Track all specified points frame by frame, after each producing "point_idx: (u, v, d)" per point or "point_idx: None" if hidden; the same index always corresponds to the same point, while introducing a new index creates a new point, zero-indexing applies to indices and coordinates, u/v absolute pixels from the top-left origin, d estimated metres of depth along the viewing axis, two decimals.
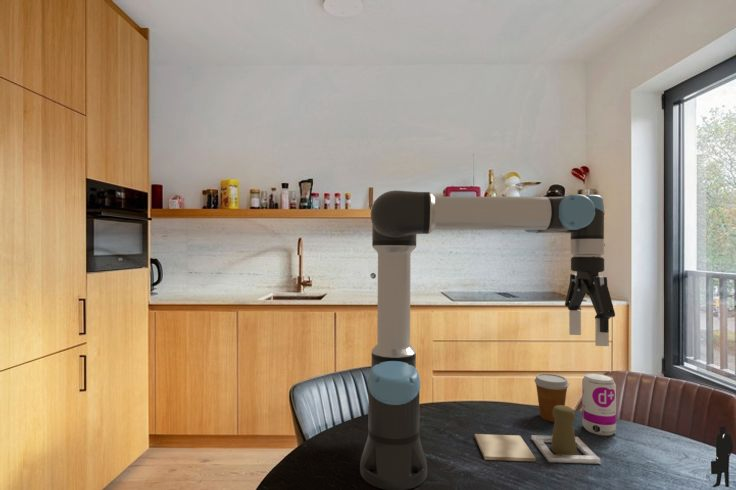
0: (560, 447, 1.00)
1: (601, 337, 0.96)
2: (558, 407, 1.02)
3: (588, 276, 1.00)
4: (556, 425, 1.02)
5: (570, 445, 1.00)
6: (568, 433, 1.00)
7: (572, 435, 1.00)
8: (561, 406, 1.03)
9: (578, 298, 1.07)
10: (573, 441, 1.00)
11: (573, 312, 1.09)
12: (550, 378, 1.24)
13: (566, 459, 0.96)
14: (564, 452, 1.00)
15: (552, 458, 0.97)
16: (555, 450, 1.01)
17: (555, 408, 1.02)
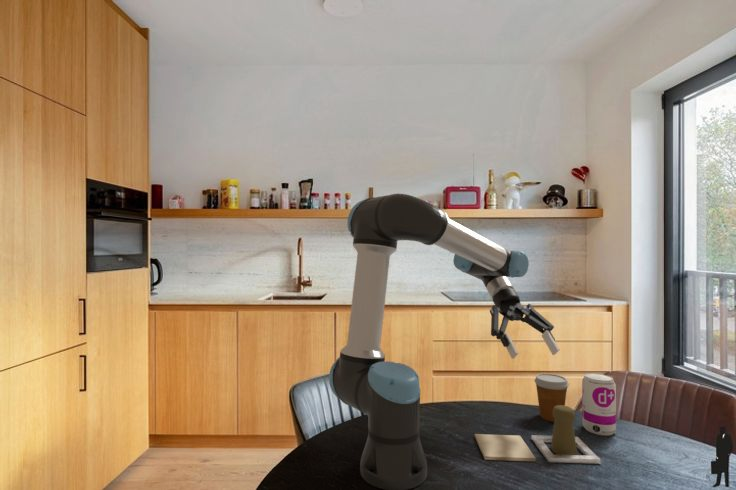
0: (560, 447, 1.00)
1: None
2: (558, 407, 1.02)
3: (519, 304, 1.24)
4: (556, 425, 1.02)
5: (570, 445, 1.00)
6: (568, 433, 1.00)
7: (572, 435, 1.00)
8: (561, 406, 1.03)
9: None
10: (573, 441, 1.00)
11: None
12: (550, 378, 1.24)
13: (566, 459, 0.96)
14: (564, 452, 1.00)
15: (552, 458, 0.97)
16: (555, 450, 1.01)
17: (555, 408, 1.02)
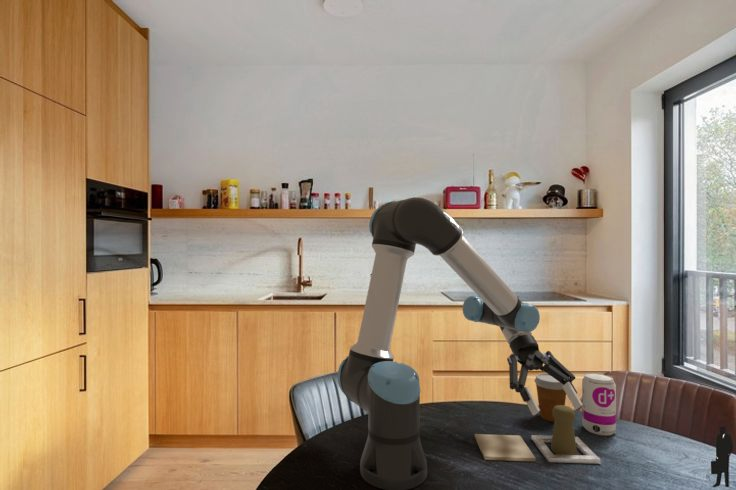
0: (560, 447, 1.00)
1: None
2: (558, 407, 1.02)
3: (538, 352, 1.17)
4: (556, 425, 1.02)
5: (570, 445, 1.00)
6: (568, 433, 1.00)
7: (572, 435, 1.00)
8: (561, 406, 1.03)
9: None
10: (573, 441, 1.00)
11: None
12: (550, 378, 1.24)
13: (566, 459, 0.96)
14: (564, 452, 1.00)
15: (552, 458, 0.97)
16: (555, 450, 1.01)
17: (555, 408, 1.02)
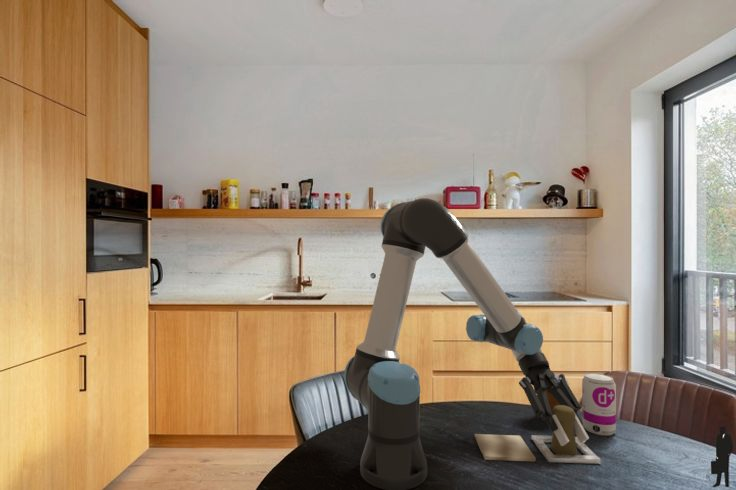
0: (560, 447, 1.00)
1: None
2: (558, 407, 1.02)
3: (550, 370, 1.11)
4: None
5: (570, 445, 1.00)
6: (568, 433, 1.00)
7: (572, 435, 1.00)
8: (561, 406, 1.03)
9: None
10: (573, 441, 1.00)
11: None
12: None
13: (566, 459, 0.96)
14: (564, 452, 1.00)
15: (552, 458, 0.97)
16: (555, 450, 1.01)
17: (555, 408, 1.02)
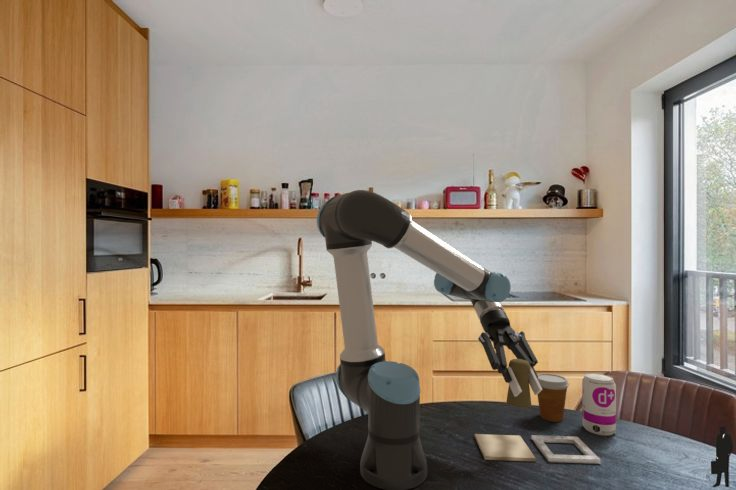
0: (514, 398, 1.01)
1: None
2: (514, 360, 1.03)
3: (510, 328, 1.13)
4: None
5: (524, 396, 1.01)
6: (523, 385, 1.01)
7: (526, 387, 1.01)
8: (517, 359, 1.04)
9: None
10: (527, 393, 1.01)
11: None
12: (550, 378, 1.24)
13: (566, 459, 0.96)
14: (518, 403, 1.01)
15: (552, 458, 0.97)
16: (509, 402, 1.02)
17: (511, 361, 1.04)
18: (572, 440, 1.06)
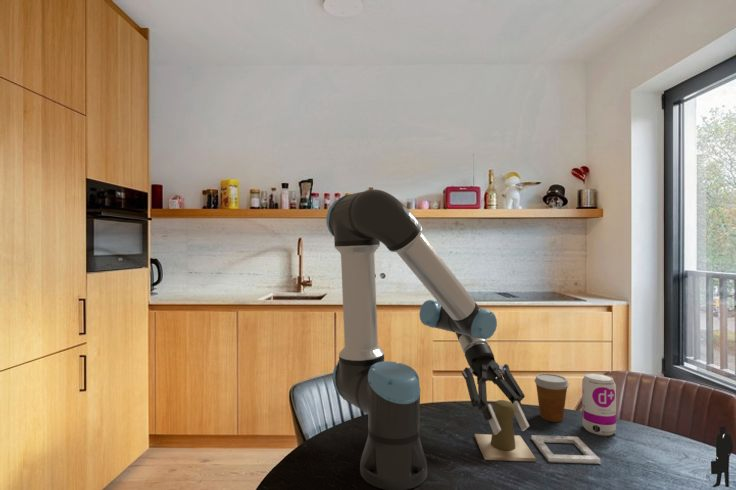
0: (498, 441, 1.01)
1: None
2: (498, 402, 1.03)
3: (494, 362, 1.12)
4: None
5: (508, 439, 1.01)
6: (507, 428, 1.01)
7: (510, 430, 1.01)
8: (502, 401, 1.04)
9: None
10: (511, 435, 1.01)
11: None
12: (550, 378, 1.24)
13: (566, 459, 0.96)
14: (502, 446, 1.01)
15: (552, 458, 0.97)
16: (494, 444, 1.02)
17: (495, 403, 1.03)
18: (572, 440, 1.06)
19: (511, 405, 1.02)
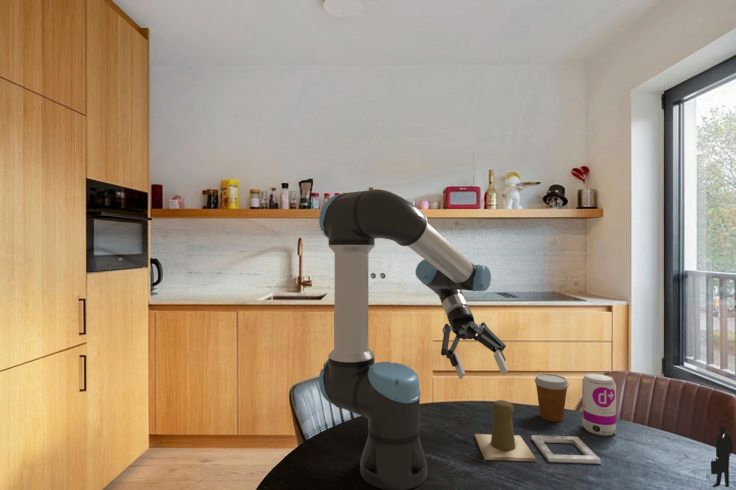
0: (498, 441, 1.01)
1: None
2: (497, 402, 1.03)
3: (473, 323, 1.24)
4: (495, 420, 1.03)
5: (508, 439, 1.01)
6: (506, 428, 1.01)
7: (510, 430, 1.01)
8: (501, 401, 1.04)
9: (457, 343, 1.18)
10: (511, 435, 1.01)
11: None
12: (550, 378, 1.24)
13: (566, 459, 0.96)
14: (502, 446, 1.01)
15: (552, 458, 0.97)
16: (494, 444, 1.02)
17: (494, 403, 1.03)
18: (572, 440, 1.06)
19: (510, 405, 1.02)
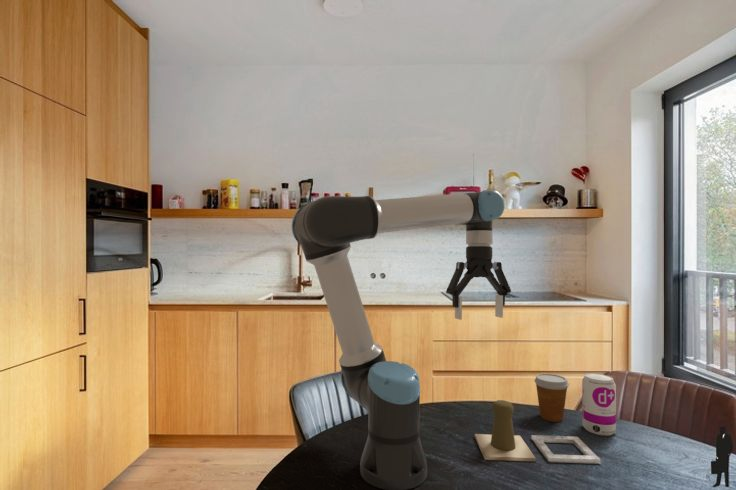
0: (498, 441, 1.01)
1: None
2: (497, 402, 1.03)
3: (489, 262, 1.19)
4: (495, 420, 1.03)
5: (508, 439, 1.01)
6: (506, 428, 1.01)
7: (510, 430, 1.01)
8: (501, 401, 1.04)
9: None
10: (511, 435, 1.01)
11: None
12: (550, 378, 1.24)
13: (566, 459, 0.96)
14: (502, 446, 1.01)
15: (552, 458, 0.97)
16: (494, 444, 1.02)
17: (494, 403, 1.03)
18: (572, 440, 1.06)
19: (510, 405, 1.02)
